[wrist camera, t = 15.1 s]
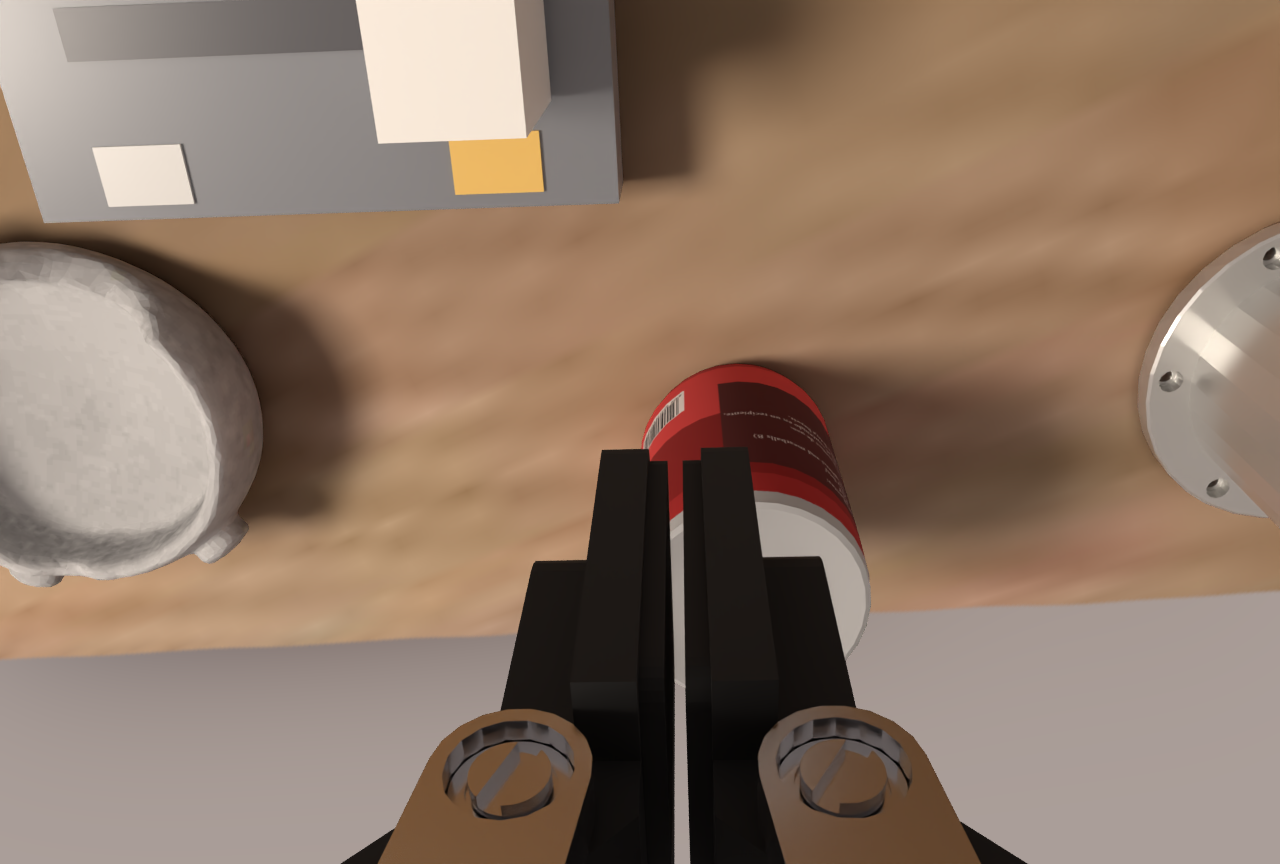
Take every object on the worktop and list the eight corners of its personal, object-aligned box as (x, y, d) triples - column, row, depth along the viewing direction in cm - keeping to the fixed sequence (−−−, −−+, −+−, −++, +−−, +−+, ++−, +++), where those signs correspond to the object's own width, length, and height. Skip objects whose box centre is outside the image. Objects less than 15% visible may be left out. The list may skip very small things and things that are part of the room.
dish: (-116, 216, 39) (-218, 256, 34) (246, 226, 38) (189, 268, 34) (-11, 536, 45) (-86, 604, 41) (298, 546, 45) (256, 616, 41)
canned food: (651, 534, 44) (644, 713, 34) (629, 365, 40) (615, 511, 30) (829, 520, 43) (874, 699, 34) (824, 347, 40) (872, 491, 30)
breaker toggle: (537, -75, 30) (507, -72, 25) (551, 100, 32) (526, 138, 27) (403, -69, 30) (345, -64, 25) (427, 105, 32) (378, 143, 27)
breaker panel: (603, -206, 31) (596, -217, 29) (623, 181, 37) (618, 203, 34) (-21, -173, 32) (-86, -181, 30) (88, 200, 38) (42, 223, 35)
